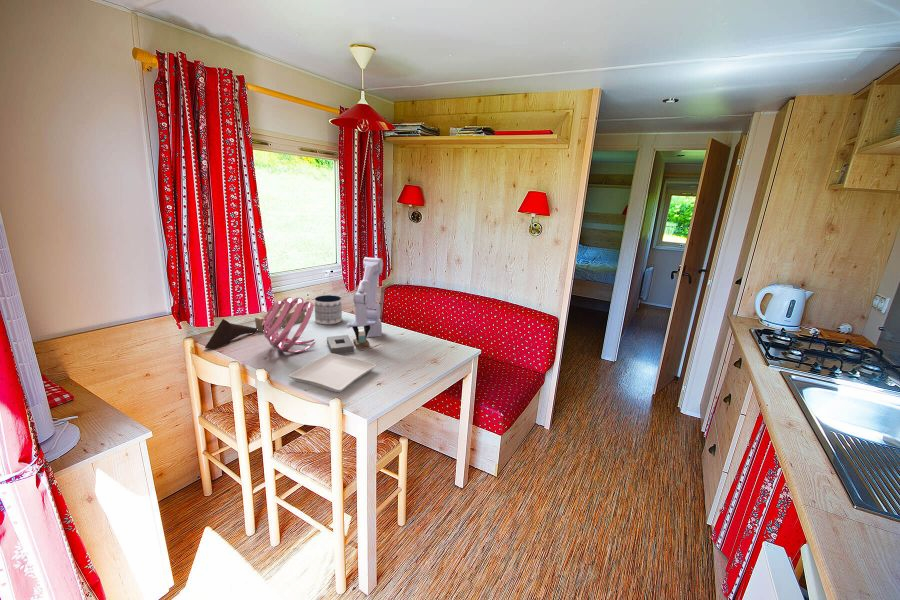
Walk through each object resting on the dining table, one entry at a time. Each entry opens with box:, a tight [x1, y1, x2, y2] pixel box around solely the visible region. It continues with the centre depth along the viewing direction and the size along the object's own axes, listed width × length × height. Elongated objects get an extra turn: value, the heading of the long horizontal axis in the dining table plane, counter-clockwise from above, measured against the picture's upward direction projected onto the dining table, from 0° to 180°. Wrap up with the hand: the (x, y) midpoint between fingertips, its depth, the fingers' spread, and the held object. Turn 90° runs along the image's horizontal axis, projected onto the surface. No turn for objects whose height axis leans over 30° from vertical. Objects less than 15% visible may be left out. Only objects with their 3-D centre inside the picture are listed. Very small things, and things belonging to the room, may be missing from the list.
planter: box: [313, 294, 343, 325], centre depth 236 cm, size 16×16×14 cm
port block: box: [326, 334, 355, 355], centre depth 198 cm, size 11×16×4 cm
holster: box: [204, 318, 258, 350], centre depth 199 cm, size 5×16×25 cm
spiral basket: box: [262, 296, 316, 354], centre depth 191 cm, size 28×28×27 cm
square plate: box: [287, 352, 377, 393], centre depth 168 cm, size 27×27×4 cm
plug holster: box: [352, 338, 370, 349], centre depth 203 cm, size 7×8×2 cm
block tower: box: [254, 306, 308, 332], centre depth 226 cm, size 8×8×29 cm
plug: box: [357, 328, 367, 343], centre depth 202 cm, size 4×4×8 cm
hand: (361, 339), depth 202 cm, fingers closed on plug, 3 cm apart
